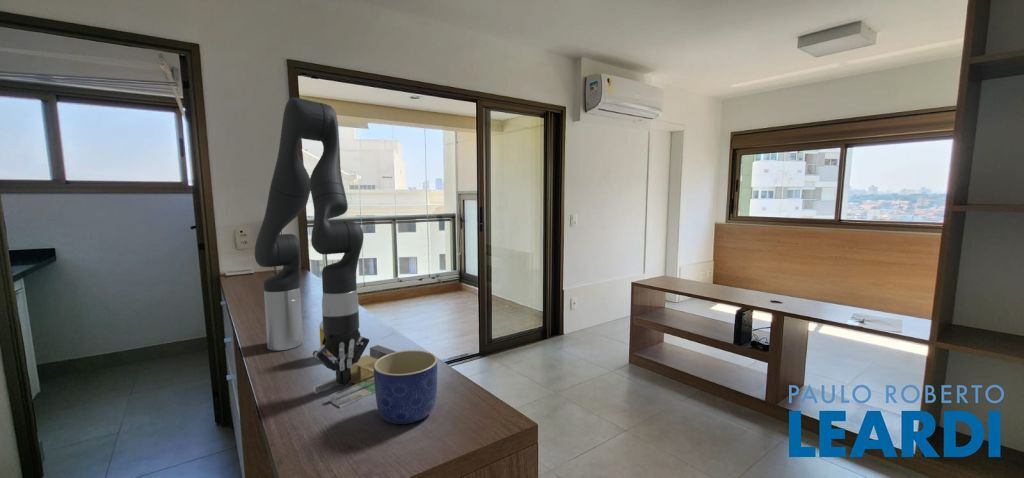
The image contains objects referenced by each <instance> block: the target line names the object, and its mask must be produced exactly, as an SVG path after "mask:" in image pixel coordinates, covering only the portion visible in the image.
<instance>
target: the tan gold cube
mask: <svg viewBox="0 0 1024 478" xmlns="http://www.w3.org/2000/svg"><path fill="white" fill-rule="evenodd" d="M377 360H378V359H376V358H373V357H371V356H370V355H368V354H366V355H363V356H361V357H360V359H359V361H358V362H357V363H354V364H353V365H352V366H351V380H350V381H349V383H350V382H351V383H353V385H355V384H358V383H360V382H363V381H365V380H368V379H370V378H373V377H374V363H375V362H376V361H377Z"/></svg>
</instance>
